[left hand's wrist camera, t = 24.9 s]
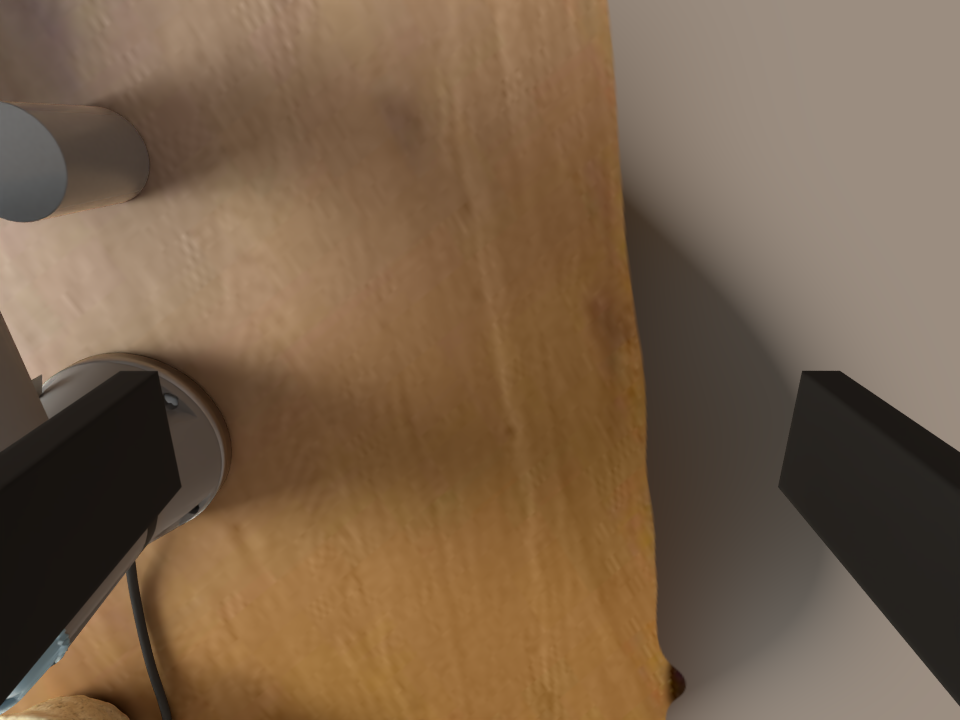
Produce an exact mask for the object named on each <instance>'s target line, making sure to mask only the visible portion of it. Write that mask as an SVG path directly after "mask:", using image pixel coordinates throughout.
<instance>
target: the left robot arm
mask: <svg viewBox="0 0 960 720" xmlns="http://www.w3.org/2000/svg"><path fill="white" fill-rule="evenodd" d="M230 463H231V441H230V436H229V432H228V429H227V426H226V423H225V421H224V419H223V417H222V415H221V413H220V411H219V410H218V408H217V406H216V405H215V404H214V402H213V401H212V399H211V398H210V397H209V396H208V395H207V393H206V392H205V391H204V390H203V389H202V388H201V387H200V386H199V385H197V384H196V383H195V382H194V381H193V380H191V379H190V378H189V377H187V376H186V375H185V374H183V373H181V372H180V371H178V370H176V369H175V368H173V367H171V366H169V365H167V364H165V363H162V362H160V361H157V360H154V359H151V358H148V357H144V356H140V355H134V354H127V353H107V354H100V355H95V356H91V357H88V358H85V359H82V360H80V361H78V362H76V363H74V364H72V365H70V366H69V367H67V368H65V369H64V370H62V371H60V372H58V373H57V374H55V375H54V376H52V377H51V378H50V379H48V380H47V381H46V382H45V383H44V384H43V385H42V375H40V376H38V377H37V378H35V379H33V380H31V378H30V376H29V374H28V372H27V369H26V367H25V365H24V363H23V360H22V358H21V356H20V354H19V352H18V349H17V347H16V345H15V343H14V340H13V338H12V336H11V334H10V332H9V329H8V327H7V325H6V323H5V321H4V318H3V316H2V314H1V312H0V715H1V714H2V713H4V712H6V711H7V710H8V709H10V708H11V707H12V706H14V705H15V704H16V703H17V702H18V701H20V700H21V699H22V698H23V696H24V695H25V694H26V693H27V692H28V691H29V690H30V689H31V688H32V687H33V685H34V684H35V683H36V682H37V681H38V680H39V679H40V678H41V677H42V675H43V674H44V673H45V672H46V671H47V670H48V669H49V668H50V667H51V666H52V665H54V664H56V663H57V662H58V661H59V660H60V659H61V658H63V656H64V654H65V652H66V651H68V647H69V646H70V645H71V643H72V642H73V641H74V639H75V638H76V637H77V636H78V634H79V633H80V632H81V630H82V629H83V628H84V626H85V625H86V624H87V622H88V621H89V620H90V619H91V617H92V616H93V615H94V613H95V612H96V611H97V609H98V608H99V607H100V606H101V604H102V603H103V602H104V600H105V599H106V598H107V596H108V595H109V594H110V592H111V591H112V590H113V589H114V587H115V586H116V585H117V583H118V582H119V581H120V579H121V578H122V577H123V576H124V574H125V573H126V575H127V582H128V588H129V593H130V599H131V604H132V609H133V614H134V619H135V623H136V628H137V632H138V637H139V641H140V645H141V649H142V653H143V657H144V661H145V664H146V668H147V671H148V674H149V678H150V681H151V684H152V686H153V689H154V692H155V695H156V698H157V701H158V704H159V707H160V711H161V715H162V720H172V718H171V713H170V709H169V705H168V701H167V698H166V695H165V692H164V689H163V686H162V683H161V680H160V677H159V674H158V671H157V668H156V664H155V661H154V657H153V653H152V649H151V645H150V641H149V636H148V632H147V627H146V623H145V618H144V613H143V608H142V603H141V597H140V592H139V586H138V579H137V571H136V563H135V560H136V559H137V557H138V556H139V554H140V553H141V552H142V551H143V549H144V548H145V547H146V546H147V545H148V544H149V543H151V542H153V541H154V540H156V539H158V538H160V537H161V536H163V535H165V534H167V533H168V532H170V531H172V530H174V529H175V528H177V527H178V526H180V525H182V524H184V523H186V522H187V521H189V520H191V519H193V518H194V517H196V516H197V515H198V514H200V513H201V512H202V511H203V510H204V509H205V508H206V507H207V506H208V505H209V504H210V502H211V501H212V499H213V498H214V497H215V495H216V494H217V492H218V491H219V490H220V488H221V487H222V485H223V483H224V481H225V480H226V477H227V475H228V472H229V468H230ZM778 487H779V488H780V490H781V491H782V492H783V493H784V495H785V496H786V497H787V498H788V499H789V501H790V502H791V503H792V504H793V505H794V507H795V508H796V509H797V510H798V511H799V513H800V514H801V515H802V516H803V517H804V519H805V520H806V521H807V522H808V524H809V525H810V526H811V527H812V528H813V530H814V531H815V532H816V533H817V534H818V536H819V537H820V538H821V539H822V540H823V542H824V543H825V544H826V545H827V546H828V548H829V549H830V550H831V551H832V552H833V554H834V555H835V556H836V557H837V559H838V560H839V561H840V562H841V563H842V565H843V566H844V567H845V568H846V569H847V571H848V572H849V573H850V574H851V575H852V577H853V578H854V579H855V580H856V581H857V583H858V584H859V585H860V586H861V588H862V589H863V590H864V591H865V592H866V594H867V595H868V596H869V597H870V598H871V600H872V601H873V602H874V603H875V604H876V606H877V607H878V608H879V609H880V610H881V612H882V613H883V614H884V615H885V617H886V618H887V619H888V620H889V621H890V623H891V624H892V625H893V626H894V627H895V629H896V630H897V631H898V632H899V633H900V635H901V636H902V637H903V638H904V639H905V641H906V642H907V643H908V644H909V645H910V647H911V648H912V649H913V650H914V652H915V653H916V654H917V655H918V656H919V658H920V659H921V660H922V661H923V662H924V664H925V665H926V666H927V667H928V668H929V670H930V671H931V672H932V673H933V674H934V676H935V677H936V678H937V679H938V681H939V682H940V683H941V684H942V685H943V687H944V688H945V689H946V690H947V691H948V692H949V694H950V695H951V696H952V697H953V699H954V700H955V701H956V702H957V703H958V705H959V706H960V452H959V451H957V450H956V449H954V448H953V447H951V446H950V445H948V444H947V443H945V442H944V441H943V440H941V439H940V438H938V437H937V436H935V435H934V434H932V433H931V432H929V431H928V430H926V429H925V428H923V427H922V426H920V425H919V424H917V423H916V422H914V421H913V420H911V419H910V418H909V417H907V416H906V415H904V414H903V413H901V412H900V411H898V410H897V409H895V408H894V407H892V406H891V405H889V404H888V403H886V402H885V401H883V400H882V399H881V398H879V397H878V396H876V395H875V394H873V393H872V392H870V391H869V390H867V389H866V388H864V387H863V386H861V385H860V384H858V383H857V382H855V381H854V380H853V379H851V378H850V377H848V376H847V375H845V374H844V373H842V372H841V371H802V375H801V380H800V384H799V389H798V394H797V399H796V404H795V408H794V413H793V418H792V423H791V428H790V433H789V437H788V442H787V447H786V452H785V457H784V461H783V466H782V471H781V476H780V481H779V486H778Z"/></svg>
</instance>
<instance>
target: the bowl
mask: <svg viewBox="0 0 960 720" xmlns="http://www.w3.org/2000/svg"><path fill="white" fill-rule="evenodd" d="M0 720H130V719H129V718H128V717H127V715H125V714H124V713H122V712H121V711H120V710H119V709H118V708H117V707H115V706H114V705H113V704H111V703H109V702H104V701H101V700H98V699H93V698H89V697H87V696H85V695H75V696H63V697H56V698H52V699H49V700H47V701H45V702H42V703H39V704H37V705H35V706H33V707H31V708H29V709H27V710H24V711H22V712H20V713H13V714H9V715H2V716H0Z"/></svg>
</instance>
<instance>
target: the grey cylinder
mask: <svg viewBox="0 0 960 720" xmlns="http://www.w3.org/2000/svg"><path fill="white" fill-rule="evenodd" d="M149 169H150V162H149V155H148V151H147V148H146V145H145V143H144V141H143V139H142V137H141V136H140V134H139V133H138V131H137V130H136V129H135V128H134V126H133V125H132V124H131V123H130V122H129V121H128V120H126V119H125V118H124V117H123V116H121V115H119V114H118V113H116V112H114V111H112V110H109V109H107V108H103V107H98V106H83V105H65V104H46V103H28V102H9V101H0V218H3V219H6V220H9V221H14V222H24V223H25V222H34V221H39V220H44V219H48V218H53V217H58V216H62V215H67V214H72V213H77V212H81V211H86V210H91V209H95V208H100V207H105V206H110V205H114V204H119V203H124V202H126V201H129V200H131V199H133V198H134V197H135V196H137V195H138V194H139V193H140V192H141V191H142V189H143V188H144V186H145V184H146V182H147V179H148V176H149Z"/></svg>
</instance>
